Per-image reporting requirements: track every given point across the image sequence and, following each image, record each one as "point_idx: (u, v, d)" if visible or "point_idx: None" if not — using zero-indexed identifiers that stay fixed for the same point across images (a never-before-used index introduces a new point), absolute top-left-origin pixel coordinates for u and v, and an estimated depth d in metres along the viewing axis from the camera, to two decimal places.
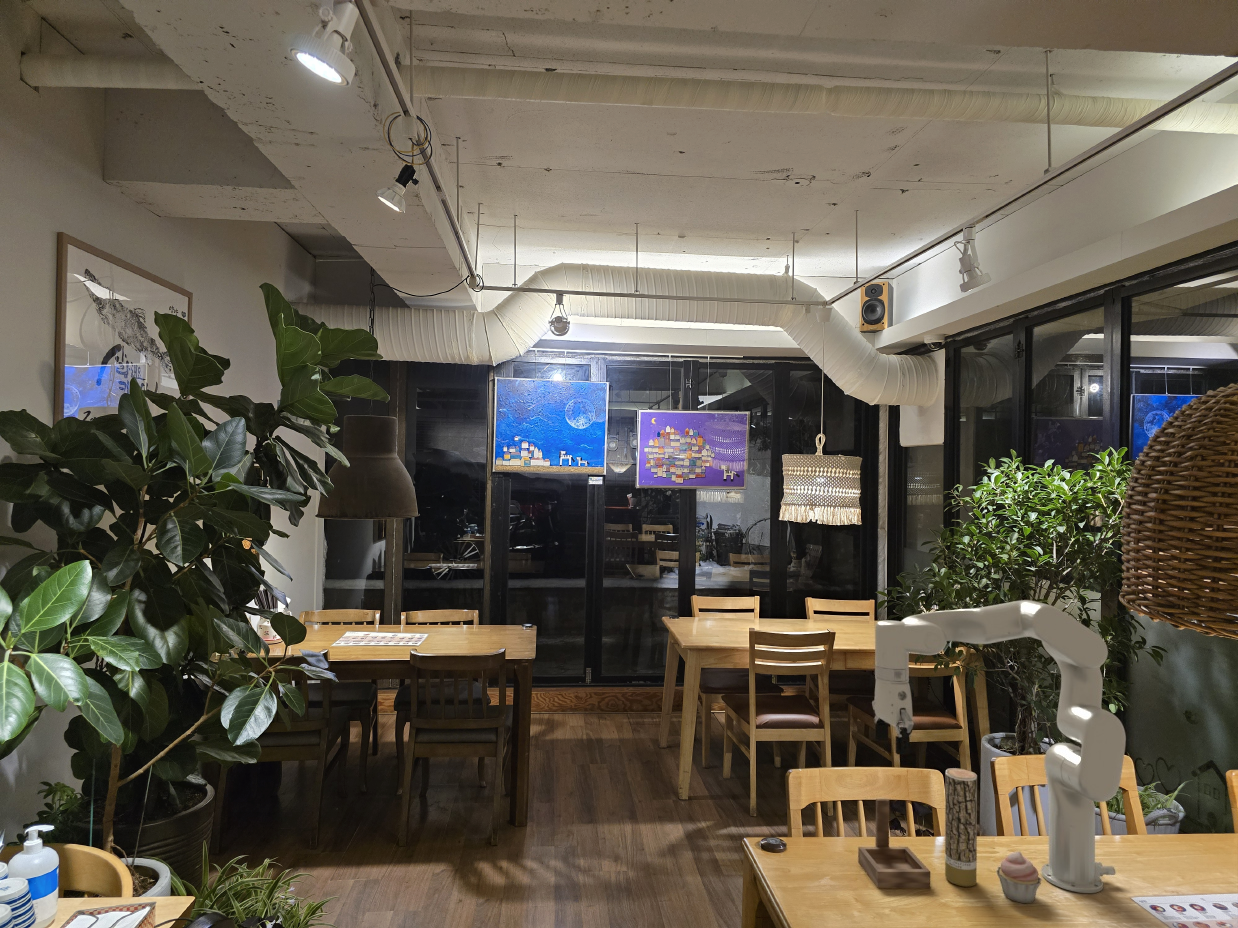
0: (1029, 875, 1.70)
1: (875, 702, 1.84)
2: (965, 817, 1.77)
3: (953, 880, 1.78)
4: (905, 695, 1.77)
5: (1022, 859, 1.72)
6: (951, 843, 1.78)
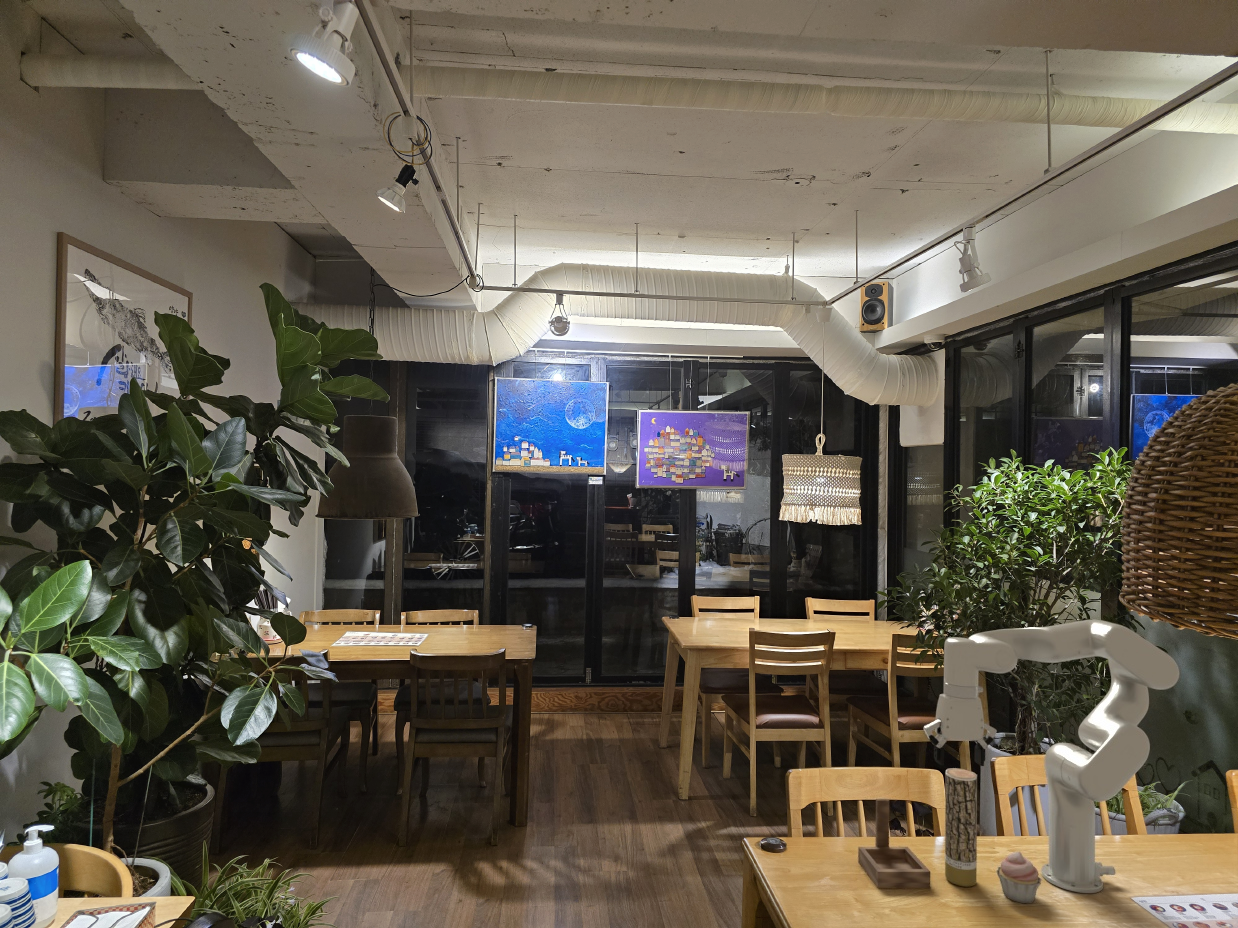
0: (1029, 875, 1.70)
1: (948, 726, 1.79)
2: (965, 817, 1.77)
3: (953, 880, 1.78)
4: None
5: (1022, 859, 1.72)
6: (951, 843, 1.78)
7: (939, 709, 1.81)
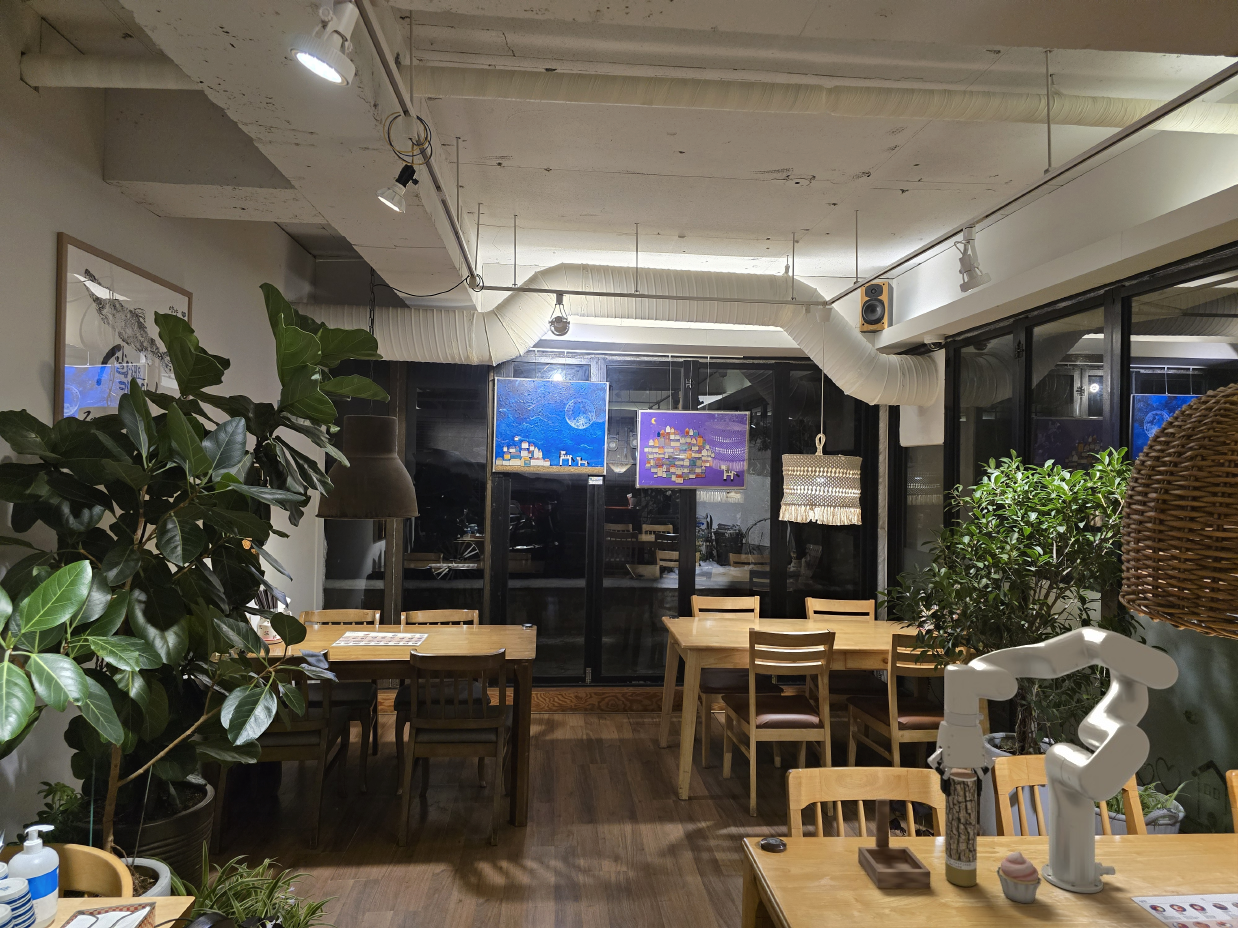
0: (1029, 875, 1.70)
1: (950, 754, 1.79)
2: (965, 817, 1.77)
3: (953, 880, 1.78)
4: None
5: (1022, 859, 1.72)
6: (951, 843, 1.78)
7: (940, 737, 1.81)
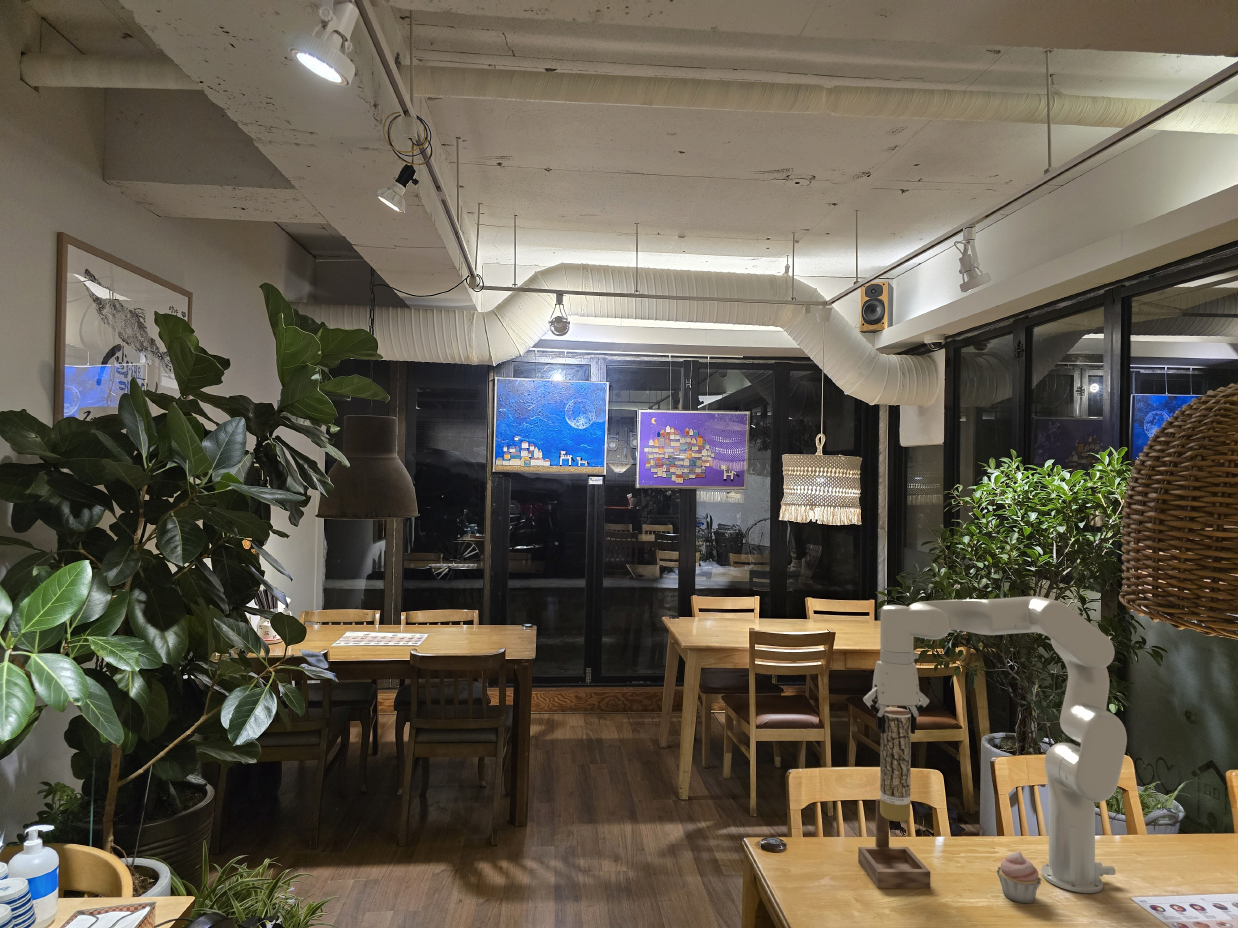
0: (1029, 875, 1.70)
1: (884, 691, 1.81)
2: (898, 753, 1.80)
3: (887, 815, 1.80)
4: None
5: (1022, 859, 1.72)
6: (885, 779, 1.81)
7: (875, 675, 1.84)
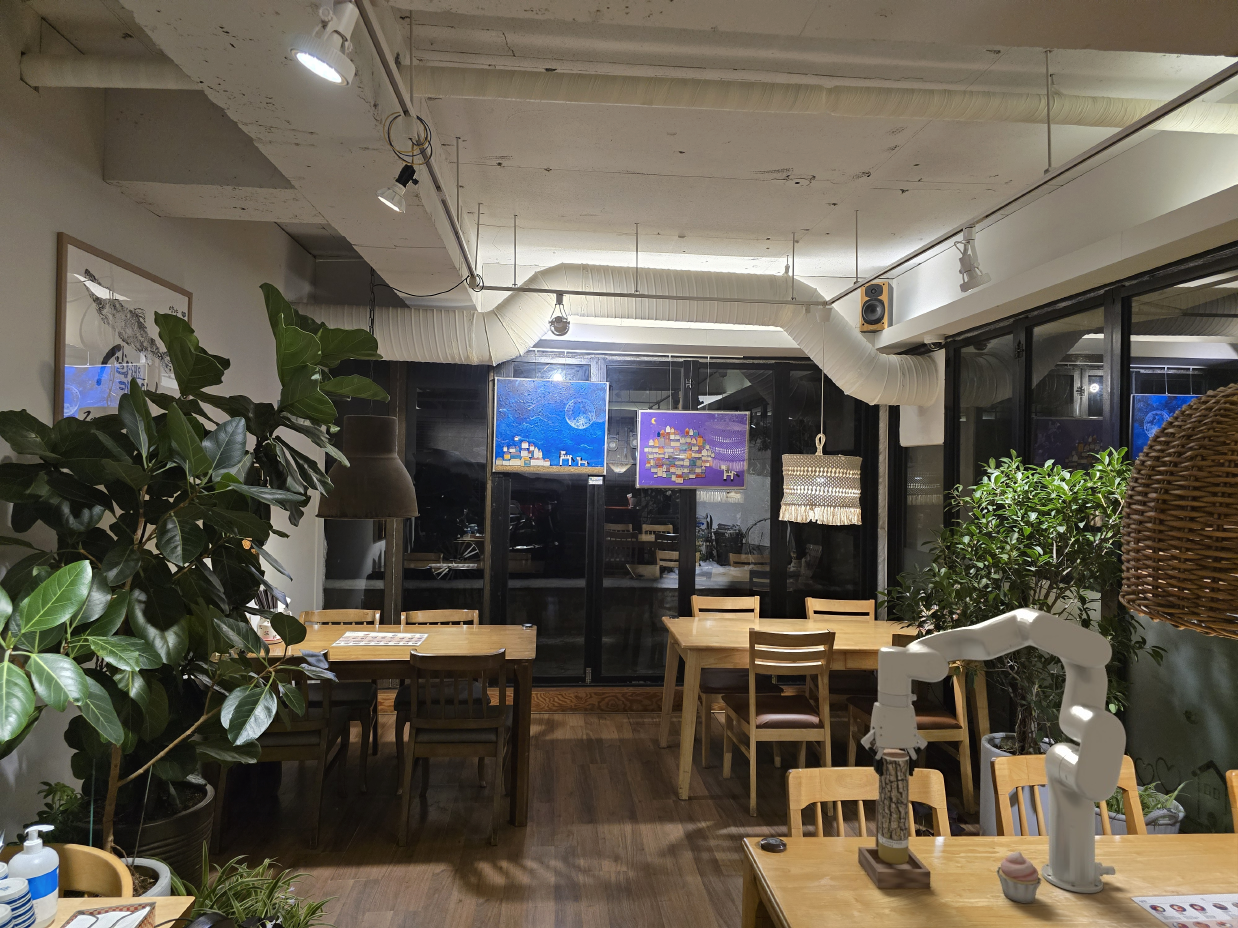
0: (1029, 875, 1.70)
1: (882, 734, 1.81)
2: (896, 796, 1.79)
3: (885, 858, 1.80)
4: None
5: (1022, 859, 1.72)
6: (883, 822, 1.81)
7: (873, 717, 1.84)
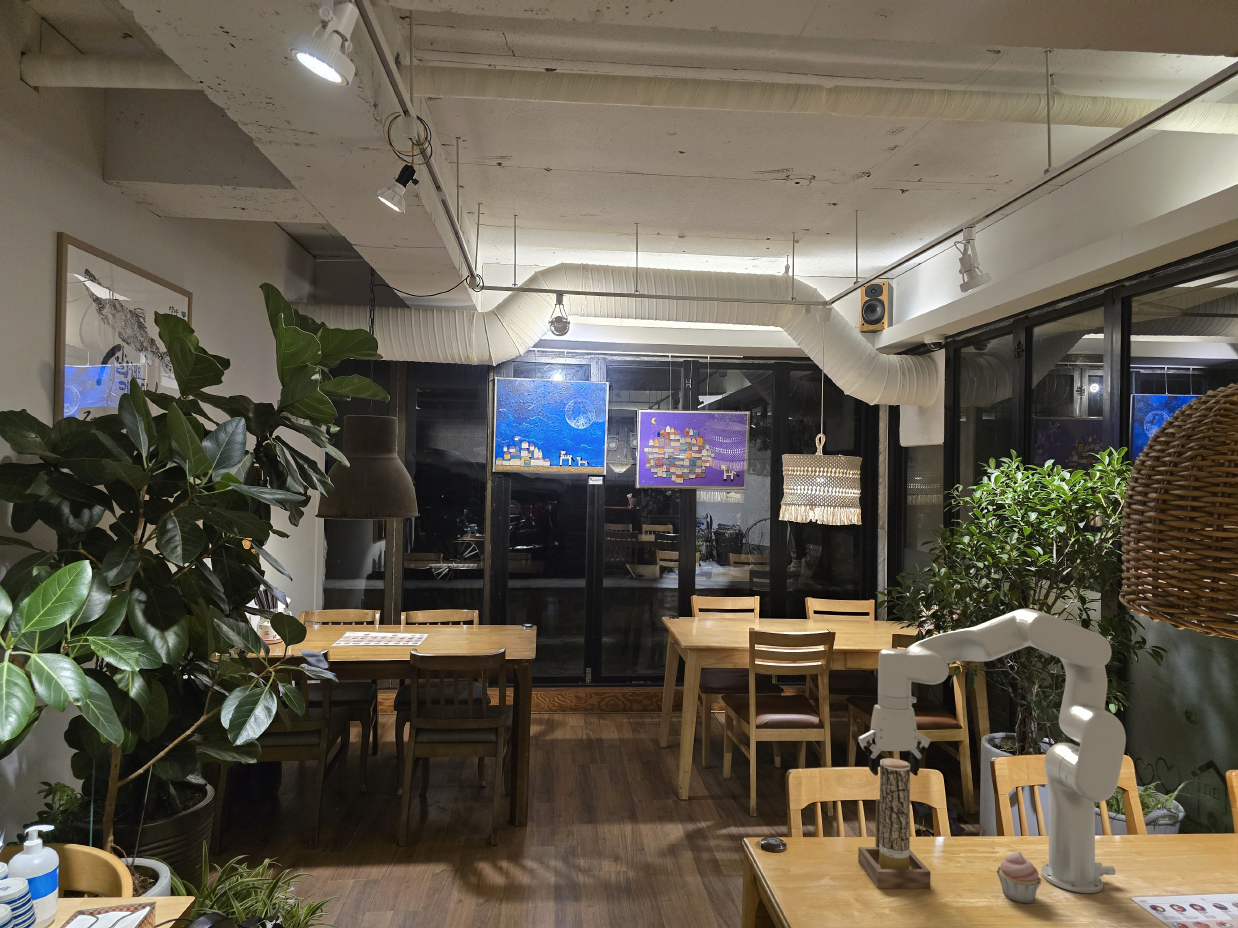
0: (1029, 875, 1.70)
1: (882, 736, 1.81)
2: (897, 806, 1.79)
3: (886, 868, 1.80)
4: None
5: (1022, 859, 1.72)
6: (884, 832, 1.81)
7: (873, 720, 1.84)
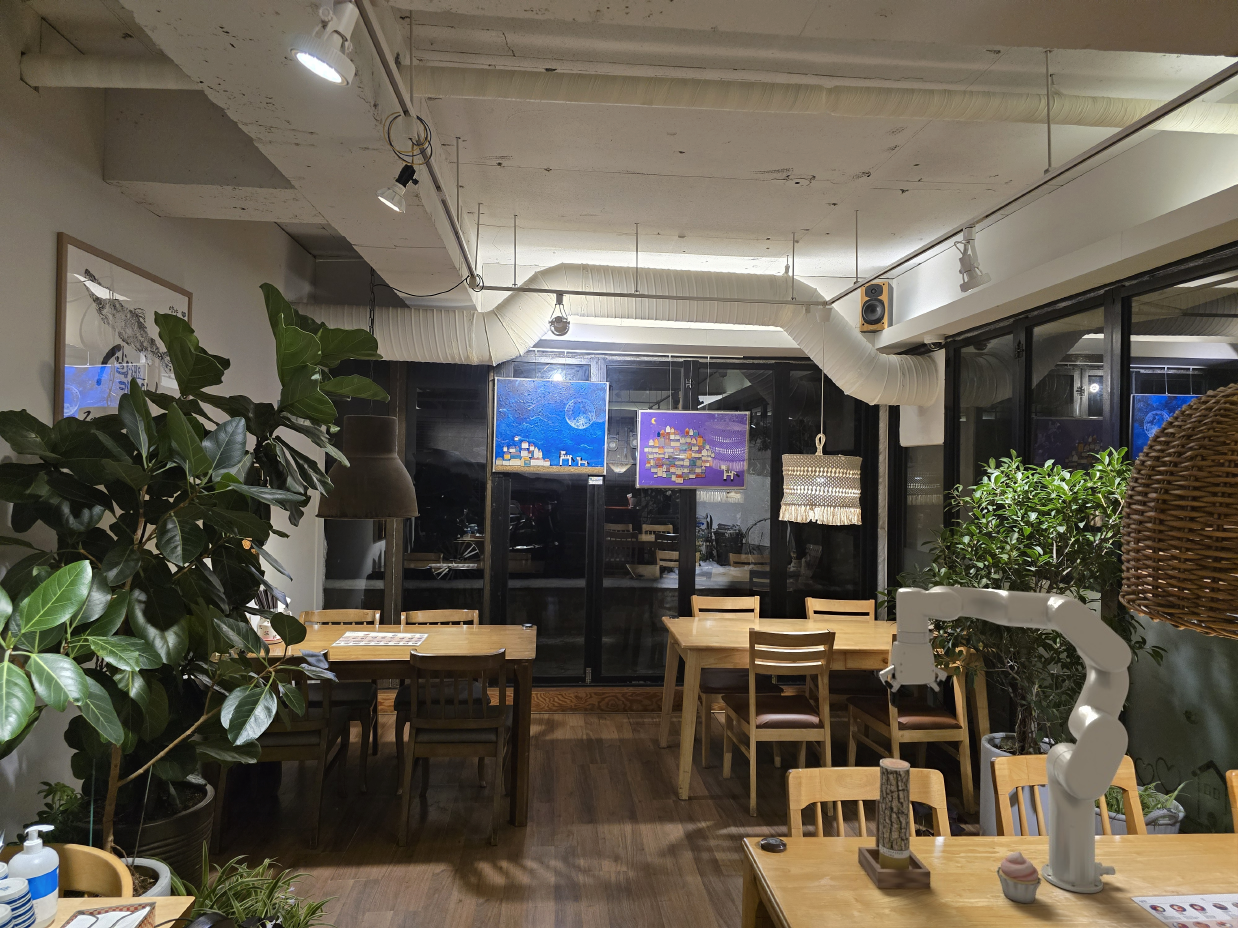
0: (1029, 875, 1.70)
1: (902, 670, 1.89)
2: (897, 806, 1.79)
3: (886, 868, 1.80)
4: None
5: (1022, 859, 1.72)
6: (884, 832, 1.81)
7: (893, 656, 1.92)
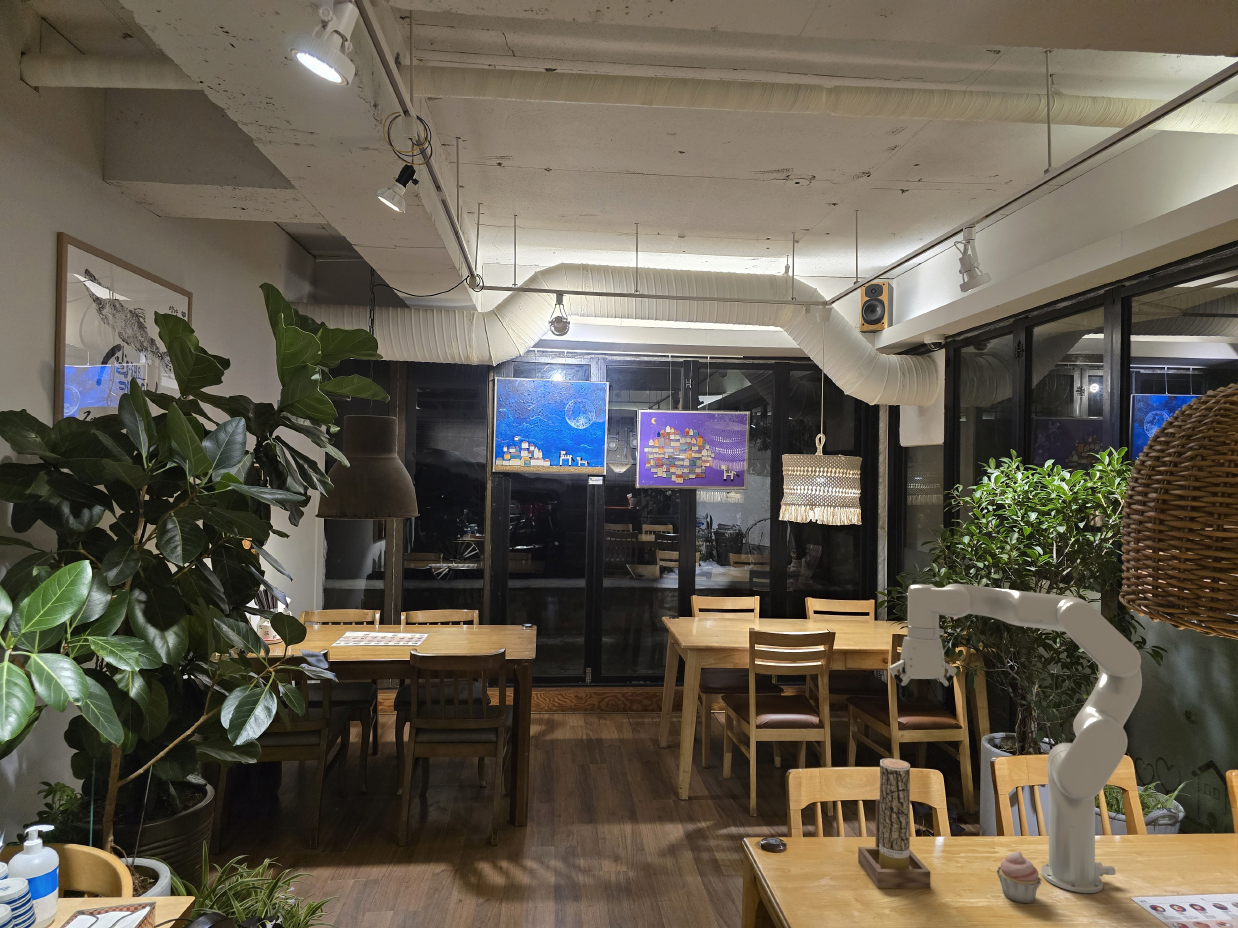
0: (1029, 875, 1.70)
1: (912, 665, 1.93)
2: (897, 806, 1.79)
3: (886, 868, 1.80)
4: None
5: (1022, 859, 1.72)
6: (884, 832, 1.81)
7: (903, 650, 1.96)
